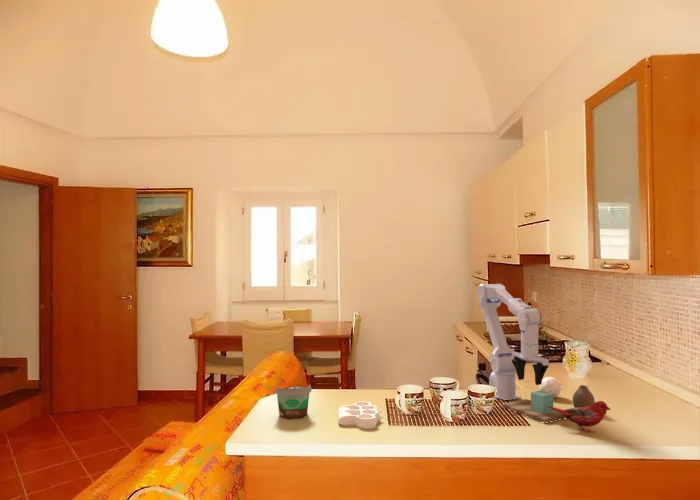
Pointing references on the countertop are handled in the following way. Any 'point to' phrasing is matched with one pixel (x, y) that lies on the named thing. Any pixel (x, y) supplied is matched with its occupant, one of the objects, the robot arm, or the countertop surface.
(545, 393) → the matte teal cube
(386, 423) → the countertop surface
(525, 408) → the walnut base plate
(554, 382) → the geometric ball
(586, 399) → the vase
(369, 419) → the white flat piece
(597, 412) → the decorative bird figurine
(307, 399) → the food container
